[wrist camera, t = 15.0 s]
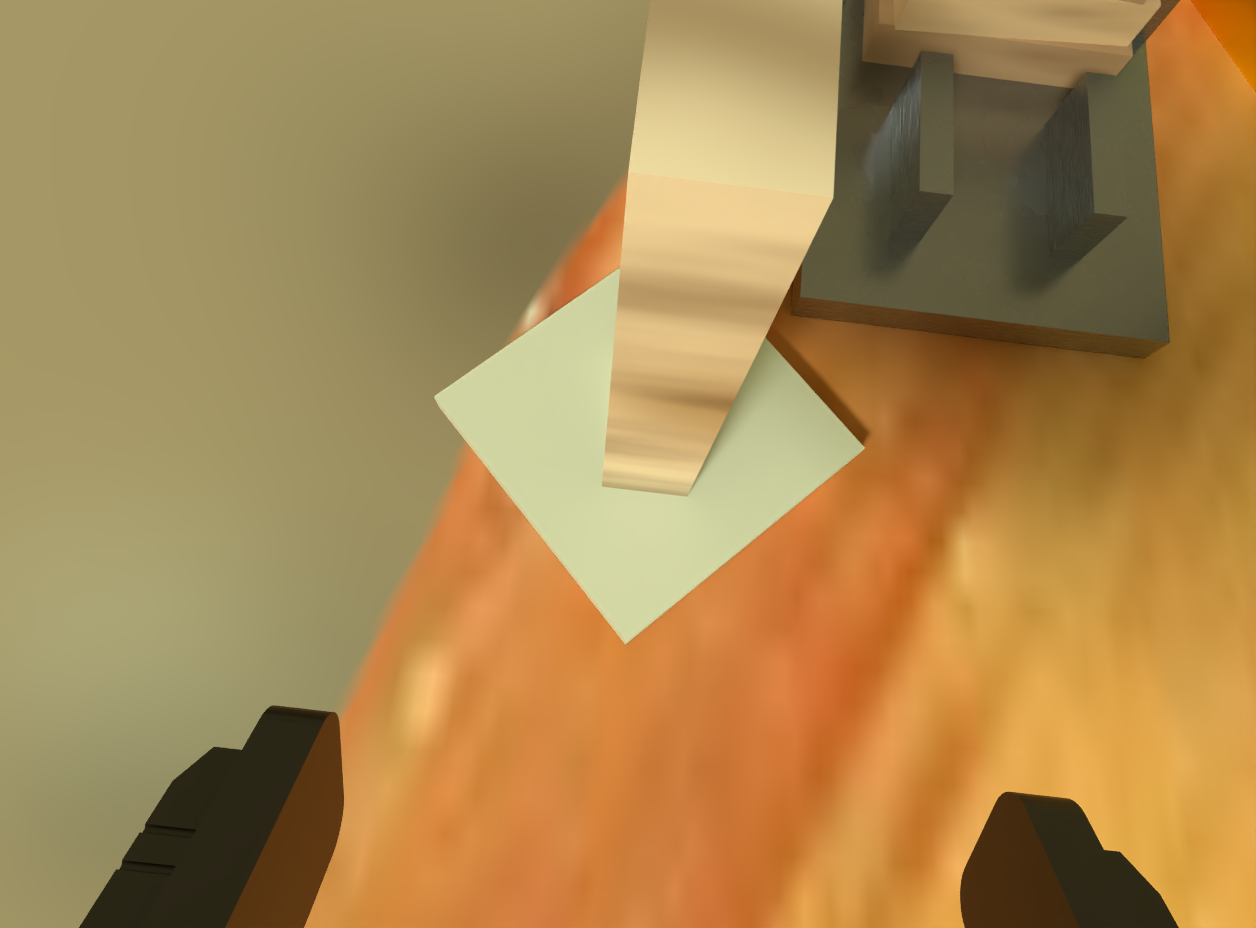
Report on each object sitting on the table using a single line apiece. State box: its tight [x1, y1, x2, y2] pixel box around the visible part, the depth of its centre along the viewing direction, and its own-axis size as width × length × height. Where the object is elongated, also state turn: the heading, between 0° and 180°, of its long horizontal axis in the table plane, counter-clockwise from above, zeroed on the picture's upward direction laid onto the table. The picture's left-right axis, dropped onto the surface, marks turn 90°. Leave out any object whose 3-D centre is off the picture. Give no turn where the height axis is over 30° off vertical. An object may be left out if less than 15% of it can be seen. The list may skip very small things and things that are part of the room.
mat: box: [434, 268, 865, 645], centre depth 31 cm, size 11×11×1 cm
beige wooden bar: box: [602, 0, 842, 497], centre depth 22 cm, size 5×3×18 cm, turn 174°
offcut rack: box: [791, 0, 1180, 358], centre depth 30 cm, size 20×14×12 cm
